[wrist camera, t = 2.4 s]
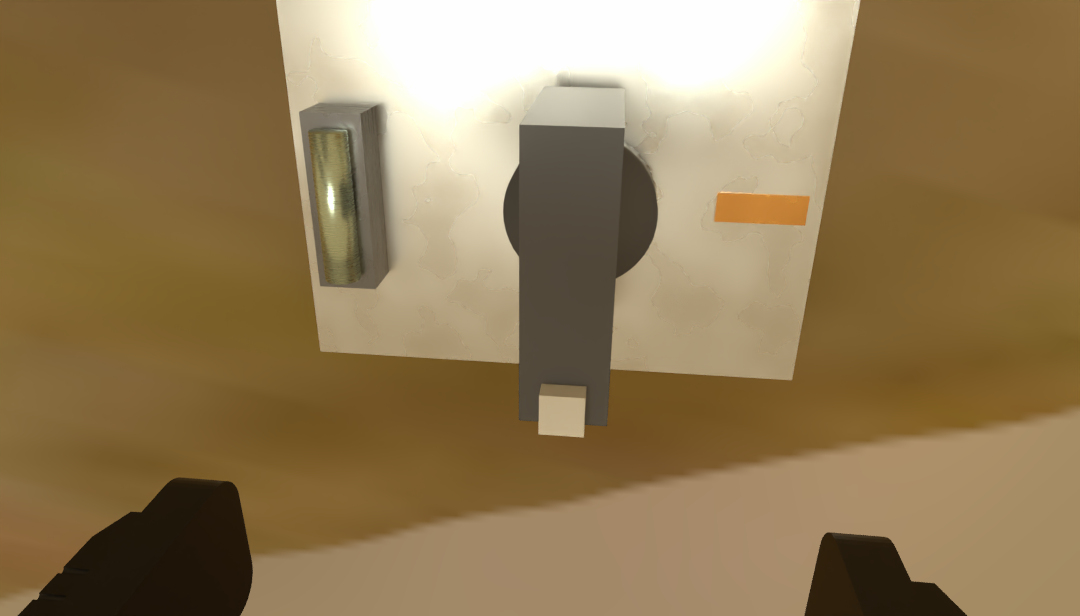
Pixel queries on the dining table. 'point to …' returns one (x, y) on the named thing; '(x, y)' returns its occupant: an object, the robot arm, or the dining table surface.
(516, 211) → the wing knob
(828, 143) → the levelling base
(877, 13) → the dining table surface
